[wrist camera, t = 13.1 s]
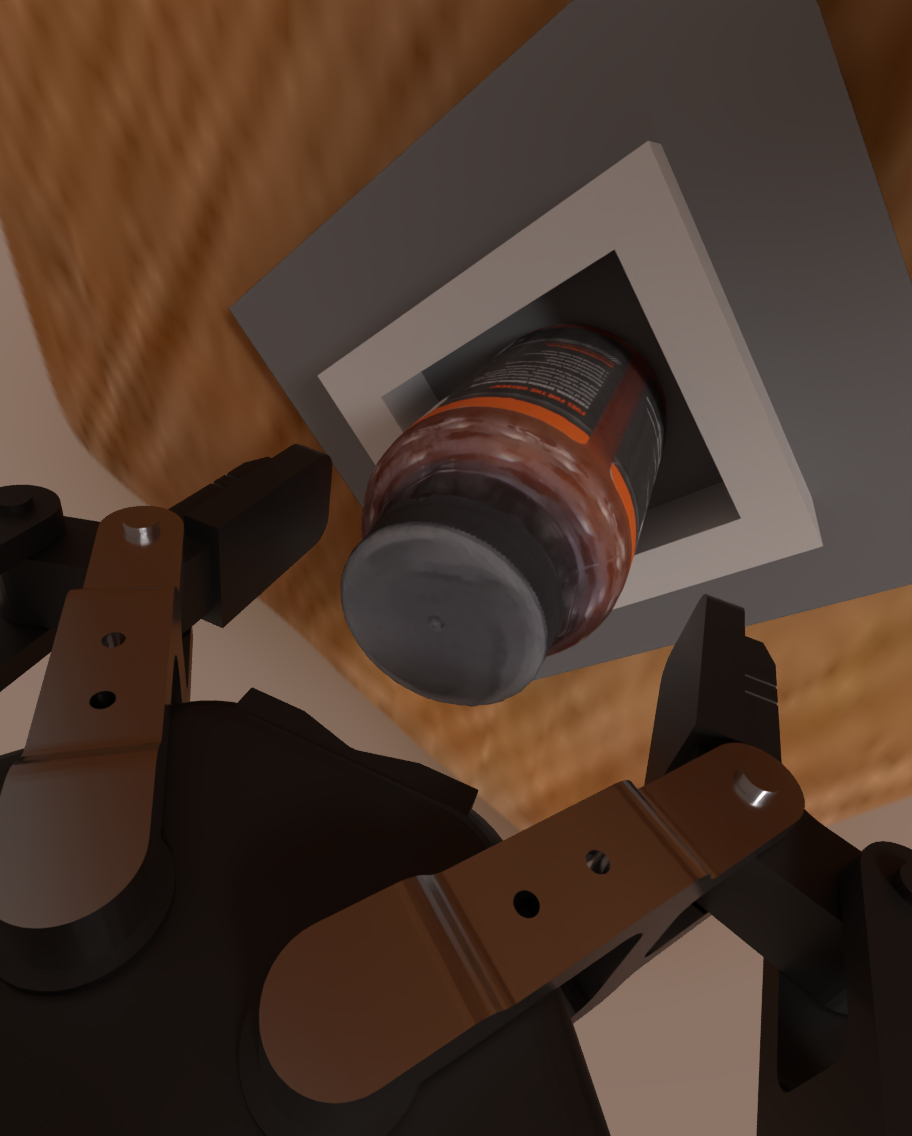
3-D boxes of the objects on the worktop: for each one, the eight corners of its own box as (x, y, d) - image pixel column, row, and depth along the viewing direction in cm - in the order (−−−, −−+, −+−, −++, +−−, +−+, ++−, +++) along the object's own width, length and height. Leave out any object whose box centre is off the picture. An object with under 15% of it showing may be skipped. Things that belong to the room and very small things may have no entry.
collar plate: (759, -149, 14) (766, -244, 10) (992, 543, 19) (1045, 621, 16) (246, 303, 23) (169, 325, 20) (493, 677, 28) (463, 742, 25)
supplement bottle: (457, 351, 20) (234, 499, 11) (646, 289, 18) (544, 421, 9) (513, 517, 23) (365, 747, 14) (688, 486, 20) (643, 749, 11)
